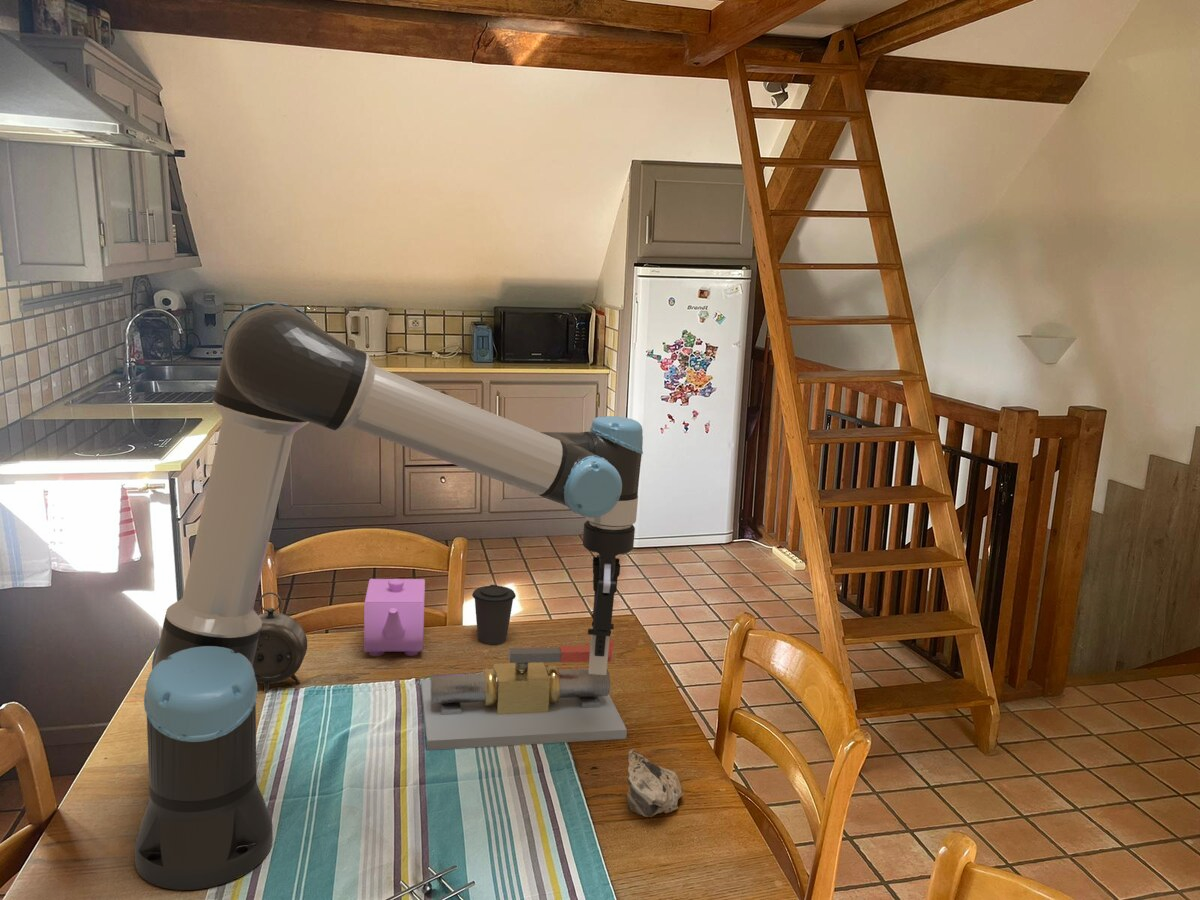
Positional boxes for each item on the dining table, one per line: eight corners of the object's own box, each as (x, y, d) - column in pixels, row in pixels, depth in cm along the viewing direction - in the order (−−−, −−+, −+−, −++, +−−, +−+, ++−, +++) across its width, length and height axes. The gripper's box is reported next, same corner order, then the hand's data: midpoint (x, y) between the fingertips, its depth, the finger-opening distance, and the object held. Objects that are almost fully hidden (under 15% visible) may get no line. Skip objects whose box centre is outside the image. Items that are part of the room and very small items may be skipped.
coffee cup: (497, 627, 185) (500, 578, 183) (522, 642, 179) (524, 591, 177) (462, 636, 180) (463, 586, 178) (486, 651, 174) (488, 599, 172)
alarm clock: (307, 679, 159) (307, 587, 155) (301, 694, 153) (301, 598, 150) (239, 678, 157) (238, 585, 154) (230, 693, 152) (229, 597, 149)
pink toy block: (369, 627, 181) (370, 564, 179) (423, 627, 183) (425, 565, 180) (361, 674, 162) (362, 604, 159) (421, 673, 164) (423, 604, 161)
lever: (509, 674, 149) (511, 646, 148) (508, 666, 152) (509, 638, 151) (613, 672, 152) (615, 644, 151) (610, 664, 155) (611, 636, 154)
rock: (624, 766, 136) (607, 752, 127) (672, 749, 135) (658, 735, 126) (641, 829, 131) (625, 820, 122) (691, 813, 130) (678, 802, 122)
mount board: (626, 738, 146) (626, 729, 146) (427, 750, 139) (427, 740, 139) (597, 680, 165) (597, 672, 165) (420, 688, 158) (421, 679, 158)
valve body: (610, 708, 152) (612, 673, 151) (431, 717, 145) (432, 681, 144) (601, 690, 158) (603, 656, 157) (429, 698, 152) (430, 663, 150)
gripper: (584, 509, 146) (573, 653, 151) (584, 533, 134) (572, 689, 138) (633, 512, 147) (620, 656, 151) (637, 537, 134) (623, 693, 138)
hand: (597, 672), depth 145 cm, fingers closed
